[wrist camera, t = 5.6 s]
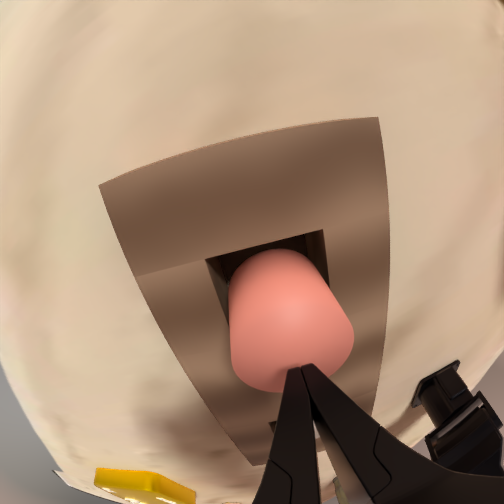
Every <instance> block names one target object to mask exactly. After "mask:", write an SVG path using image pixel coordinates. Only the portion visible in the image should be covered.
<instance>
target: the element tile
mask: <svg viewBox="0 0 504 504" xmlns="http://www.w3.org/2000/svg"><path fill="white" fill-rule="evenodd" d="M94 485H95V486H96V487H98V488H100V489H102V490H104V491H106V492H108V493H111V494H113V495H115V496H117V497H119V498H122V499H124V500H126V501H129V502H131V503H132V504H196V502H195V491H193V490H191V489H189V488H187V487H184V486H182V485H180V484H178V483H176V482H174V481H172V480H170V479H168V478H166V477H164V476H162V475H160V474H158V473H154V472H149V471H134V470H118V469H107V468H96V473H95V479H94Z"/></svg>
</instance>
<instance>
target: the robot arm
mask: <svg viewBox="0 0 504 504" xmlns="http://www.w3.org/2000/svg"><path fill="white" fill-rule="evenodd" d="M459 365H460V361H459V360H457V361H455V362H454V363H452V364H450V365H448V366H447V367H445V368H443V369H441V370H440V371H438V372H436V373H434V374H432V375H431V376H429V377H427V378H425V379H423V380H422V381H421V382H420V385H419V388H418V390H417V393H416V395H415V398H414V400H413V403H412V405H411V406H412V408H415V407H417V406H419V405H421V404H422V405H423V407H424V408H425V410H426V412H427V413H428V415H429V417H430V419H431V420H432V422H433V424H434V426H435V427H436V429H435V430H434V431H433V432H431V433H430V434H428V435H426V436H425V442H426V445H427V447H428V450H429V452H430V456H431V460H429V459H428V458H426V457H424V456H422V455H421V454H419V453H417V452H416V451H414V450H413V449H411V448H410V447H408V446H407V445H405V444H404V443H402V442H401V441H399V440H398V439H397V438H395V437H394V436H393V435H392V434H390V433H389V432H388V431H387V430H386V429H385V428H384V427H382V426H380V424H379V423H378V422H377V421H375V420H374V419H373V418H372V417H371V416H370V415H369V414H368V413H366V412H365V411H364V410H363V409H362V408H361V407H360V406H359V405H357V404H356V403H355V402H354V401H353V400H352V399H351V398H350V397H349V396H348V395H347V394H345V393H344V392H343V391H342V390H341V389H340V388H339V387H338V386H337V385H336V384H335V383H334V382H332V381H331V380H330V379H329V378H328V377H327V376H326V375H325V374H324V373H323V372H322V371H321V370H320V369H319V368H318V367H317V366H316V365H314V364H313V363H308V364H305V365H302V366H301V367H294V368H290V369H288V370H287V374H286V379H285V384H284V389H283V394H282V399H281V404H280V408H279V413H278V417H277V422H276V426H275V431H274V435H273V439H272V444H271V448H270V452H269V456H268V458H269V459H268V460H267V463H266V467H265V471H264V474H263V477H262V481H261V484H260V486H259V489H258V491H257V494H256V496H255V498H254V500H253V503H252V504H322V502H321V489H320V478H319V467H318V457H317V447H316V438H315V430H314V424H315V426H316V429H317V431H318V434H319V436H320V438H321V440H322V443H323V445H324V447H325V450H326V452H327V454H328V457H329V459H330V461H331V463H332V466H333V468H334V470H335V473H336V475H337V477H338V479H339V482H340V484H341V486H342V488H343V491H344V493H345V495H346V497H347V500H348V502H349V504H504V466H503V460H504V437H503V436H502V434H501V432H500V431H499V429H500V428H501V427H502V426H503V424H502V422H501V421H500V419H499V418H498V416H497V415H496V413H495V411H494V410H493V409H492V407H491V406H490V404H489V403H488V401H487V400H486V398H485V397H484V396H483V394H482V393H481V392H480V391H478V392H477V394H476V395H475V396H474V397H473V396H472V394H471V393H470V391H469V390H468V387H467V385H466V384H465V383H464V381H463V380H462V379H461V377H460V376H459V375H458V373H457V372H456V371H457V369H458V367H459ZM482 402H483V405H482V406H481V407H480V408H479V407H478V406H479V405H480V404H481V403H482ZM313 421H314V422H313Z"/></svg>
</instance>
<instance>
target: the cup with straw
mask: <svg viewBox="0 0 504 504" xmlns="http://www.w3.org/2000/svg"><path fill="white" fill-rule="evenodd" d="M222 504H241V503H239V502H226V503H222Z"/></svg>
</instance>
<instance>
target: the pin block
mask: <svg viewBox="0 0 504 504" xmlns="http://www.w3.org/2000/svg"><path fill="white" fill-rule="evenodd" d="M98 186H99V189H100V192H101V195H102V198H103V200H104V203H105V206H106V209H107V212H108V214H109V217H110V220H111V222H112V225H113V228H114V230H115V233H116V235H117V238H118V240H119V243H120V245H121V248H122V250H123V252H124V255H125V257H126V259H127V262H128V264H129V266H130V269H131V271H132V273H133V275H134V277H135V280H136V282H137V284H138V286H139V288H140V290H141V292H142V294H143V296H144V298H145V300H146V302H147V304H148V306H149V308H150V310H151V312H152V314H153V316H154V318H155V320H156V322H157V324H158V326H159V328H160V329H161V331H162V333H163V335H164V337H165V339H166V340H167V342H168V344H169V346H170V347H171V349H172V351H173V353H174V354H175V356H176V358H177V359H178V361H179V363H180V364H181V366H182V368H183V369H184V371H185V373H186V374H187V376H188V377H189V379H190V381H191V382H192V384H193V385H194V387H195V388H196V390H197V391H198V393H199V395H200V396H201V398H202V399H203V401H204V402H205V403H206V405H207V406H208V408H209V409H210V411H211V412H212V414H213V415H214V416H215V418H216V419H217V421H218V422H219V423H220V425H221V426H222V428H223V429H224V430H225V432H226V433H227V434H228V436H229V437H230V438H231V440H232V441H233V442H234V443H235V445H236V446H237V447H238V449H239V450H240V451H241V452H242V454H243V455H244V456H245V457H246V458H247V460H248V461H249V462H250V463H251V464H252V466H257V465H263V464H266V463H267V460H268V459H269V458H268V456H269V452H270V448H271V444H272V439H273V435H274V431H275V426H276V421H277V417H278V413H279V408H280V404H281V399H282V394H283V392H282V393H278V392H267V391H262V390H259V389H256V388H253V387H251V386H249V385H247V384H246V383H244V382H243V381H242V380H241V379H240V378H239V377H238V376H237V375H236V373H235V371H234V369H233V366H232V361H231V346H230V326H229V304H228V286H227V283H226V280H225V277H224V274H223V271H222V268H221V265H220V261H219V258H218V255H222V254H226V253H230V252H234V251H238V250H242V249H246V248H250V247H254V246H257V245H261V244H265V243H269V242H273V241H277V240H281V239H285V238H289V237H293V236H297V235H301V234H305V240H306V246H307V253H308V259H309V260H310V261H311V262H312V263H313V264H314V265H315V267H316V268H317V270H318V272H319V273H320V275H321V276H322V278H323V279H324V281H325V282H326V284H327V286H328V287H329V289H330V290H331V292H332V293H333V295H334V297H335V298H336V300H337V301H338V303H339V305H340V306H341V308H342V310H343V311H344V313H345V314H346V316H347V318H348V319H349V321H350V323H351V325H352V327H353V331H354V343H353V347H352V350H351V352H350V355H349V356H348V358H347V360H346V361H345V362H344V364H343V365H342V366H341V367H340V368H339V369H338V370H337V371H336V372H335V373H334V374H332V375H331V376H329V377H328V378H329V379H330V380H331V381H332V382H334V383H335V384H336V385H337V386H338V387H339V388H340V389H341V390H342V391H343V392H344V393H345V394H347V395H348V396H349V397H350V398H351V399H352V400H353V401H354V402H355V403H356V404H357V405H359V406H360V407H361V408H362V409H363V410H364V411H365V412H366V413H368V414H369V415H370V416H371V415H372V410H373V406H374V401H375V396H376V391H377V386H378V381H379V375H380V369H381V363H382V356H383V349H384V341H385V332H386V322H387V311H388V297H389V276H390V223H389V203H388V189H387V177H386V168H385V159H384V151H383V144H382V137H381V131H380V125H379V119H378V117H368V118H352V119H340V120H332V121H325V122H318V123H311V124H305V125H299V126H293V127H287V128H282V129H277V130H272V131H267V132H262V133H258V134H253V135H249V136H244V137H240V138H236V139H232V140H228V141H224V142H220V143H216V144H213V145H209V146H205V147H202V148H198V149H195V150H192V151H188V152H185V153H182V154H179V155H175V156H172V157H169V158H166V159H163V160H160V161H157V162H154V163H152V164H149V165H146V166H143V167H140V168H138V169H135V170H132V171H130V172H127V173H125V174H123V175H120V176H118V177H116V178H113V179H111V180H109V181H107V182H105V183H103V184H100V185H98ZM316 447H317V452H321V451H324V450H325V447H324V445H323V443H322V440H321V438H320V437H319V438H317V439H316Z"/></svg>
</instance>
